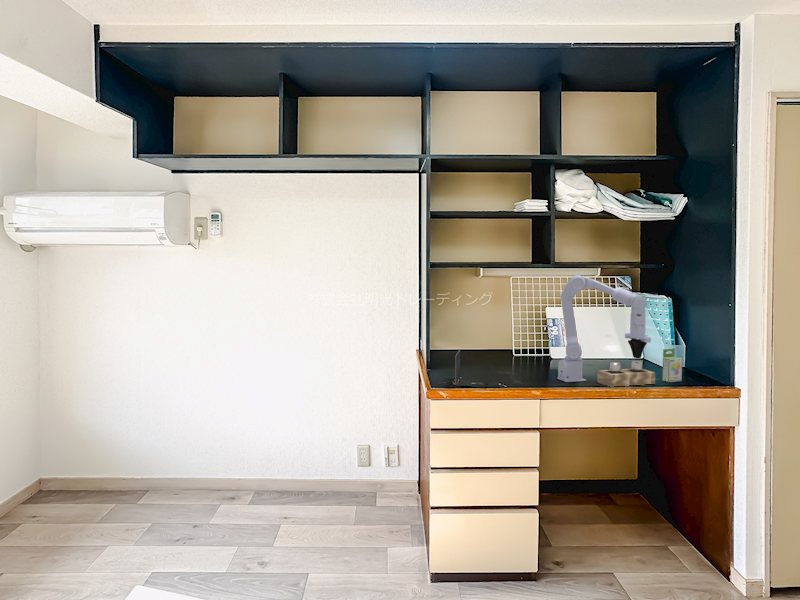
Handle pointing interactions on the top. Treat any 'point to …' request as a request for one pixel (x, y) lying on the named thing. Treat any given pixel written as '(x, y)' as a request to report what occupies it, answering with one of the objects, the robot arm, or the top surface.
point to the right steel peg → (636, 366)
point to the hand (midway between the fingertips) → (637, 357)
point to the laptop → (457, 367)
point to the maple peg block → (625, 377)
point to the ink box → (671, 367)
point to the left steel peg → (615, 367)
